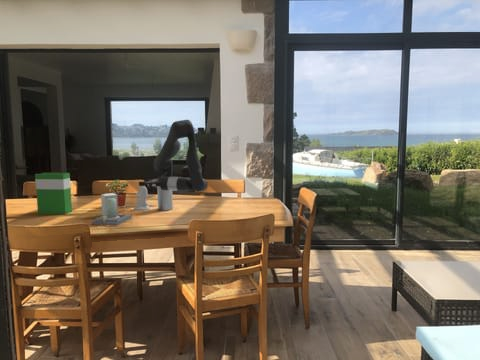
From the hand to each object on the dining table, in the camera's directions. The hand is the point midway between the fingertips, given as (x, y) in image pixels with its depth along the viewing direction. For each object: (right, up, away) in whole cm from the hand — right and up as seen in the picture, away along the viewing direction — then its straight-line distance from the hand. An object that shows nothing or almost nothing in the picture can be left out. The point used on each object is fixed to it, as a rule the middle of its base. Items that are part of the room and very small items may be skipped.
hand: (142, 182), depth 219 cm
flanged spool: (-17, -20, +2) cm, 27 cm away
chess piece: (-9, -17, +35) cm, 40 cm away
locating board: (-17, -21, +2) cm, 28 cm away
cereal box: (-60, -19, +25) cm, 67 cm away
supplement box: (-23, -20, +17) cm, 35 cm away
